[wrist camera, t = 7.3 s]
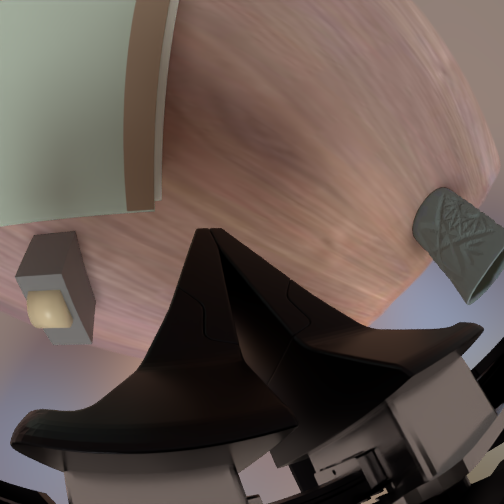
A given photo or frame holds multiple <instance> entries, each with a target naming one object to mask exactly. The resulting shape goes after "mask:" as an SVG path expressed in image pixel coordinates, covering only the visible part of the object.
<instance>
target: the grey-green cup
mask: <svg viewBox="0 0 504 504" xmlns="http://www.w3.org/2000/svg"><path fill="white" fill-rule="evenodd" d="M413 235H414V237H415V239H416V240H417V241H418V243H419V244H420V245H421V246H422V247H423V248H424V249H425V250H426V251H428V252H429V255H430V256H431V257H432V258H433V260H434V261H435V262H436V263H437V264H438V266H439V267H440V269H441V270H442V271H443V272H444V273H445V274H446V276H447V277H448V278H449V279H450V280H451V282H452V283H453V284H454V286H455V288H456V289H457V291H458V292H459V293H460V295H461V296H462V298H463V300H464V301H465V302H466V304H468V305H470V304H472V303H474V302H475V301H476V300H478V299H479V298H480V297H481V296H482V295H483V294H484V293H485V292H486V291H487V290H488V288H489V287H490V286H491V285H492V284H493V283H494V281H495V280H496V279H497V278H498V276H499V275H500V273H501V272H502V270H503V269H504V228H503V227H502V226H500V225H498V224H496V223H495V221H494V220H492V219H491V218H490V217H489V216H487V215H485V213H483V212H480V210H479V209H477V208H475V207H474V206H473V205H472V204H470V203H469V202H467V201H466V200H465V199H463V198H461V197H460V196H458V195H457V194H456V193H454V192H453V191H451V190H450V189H448V188H439V189H437V190H435V191H434V192H432V193H431V194H430V195H429V196H428V197H427V198H426V199H425V201H424V202H423V203H422V205H421V206H420V208H419V210H418V212H417V214H416V217H415V219H414V223H413Z"/></svg>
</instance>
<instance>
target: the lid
mask: <svg viewBox="0 0 504 504" xmlns="http://www.w3.org/2000/svg"><path fill="white" fill-rule="evenodd" d="M169 5H170V0H2V1H0V227H1V226H8V225H15V224H23V223H30V222H39V221H47V220H56V219H65V218H75V217H86V216H97V215H109V214H122V213H136V212H152V211H155V196H154V152H155V124H156V106H157V93H158V82H159V72H160V63H161V55H162V47H163V40H164V33H165V27H166V21H167V16H168V10H169Z"/></svg>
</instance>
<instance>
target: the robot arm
mask: <svg viewBox="0 0 504 504" xmlns="http://www.w3.org/2000/svg"><path fill="white" fill-rule="evenodd" d="M483 331H484V328H483V327H482V326H480V325H478V324H475V323H466V322H459V323H457V324H455V325H453V326H451V327H447V328H440V329H408V330H391V329H386V330H385V329H382V330H381V329H374V328H370V327H366V326H364V325H362V324H360V323H358V322H356V321H355V320H353V319H351V318H350V317H348V316H346V315H345V314H343V313H341V312H340V311H338V310H336V309H335V308H333V307H332V306H330V305H328V304H327V303H325V302H323V301H322V300H320V299H319V298H317V297H316V296H314V295H313V294H311V293H310V292H308V291H307V290H305V289H304V288H303V287H301V286H300V285H298V284H297V283H296V282H294V281H293V280H290V278H289V277H287V276H286V275H285V274H283V273H282V272H281V271H279V270H278V269H276V268H275V267H274V266H272V265H271V264H270V263H268V262H267V261H266V260H264V259H263V258H261V257H260V256H259V255H257V254H256V253H255V252H253V251H252V250H251V249H249V248H248V247H247V246H245V245H244V244H242V243H241V242H240V241H238V240H237V239H236V238H234V237H233V236H232V235H230V234H229V233H227V232H226V231H225V230H223V229H222V228H211V229H208V228H198V229H196V231H195V234H194V237H193V240H192V243H191V245H190V248H189V251H188V254H187V257H186V260H185V263H184V266H183V269H182V272H181V275H180V278H179V281H178V284H177V287H176V290H175V293H174V296H173V299H172V301H171V304H170V307H169V310H168V312H167V314H166V316H165V318H164V320H163V322H162V324H161V326H160V328H159V330H158V332H157V334H156V336H155V338H154V340H153V342H152V344H151V346H150V348H149V350H148V352H147V354H146V356H145V358H144V360H143V361H142V363H141V365H140V366H139V367H138V369H137V370H136V371H135V372H134V373H133V374H132V375H131V376H129V377H128V378H127V379H126V380H125V381H123V382H122V383H121V384H119V385H118V386H117V387H116V388H114V389H113V390H112V391H111V392H109V393H108V394H107V395H106V396H105V397H103V398H102V399H101V400H100V401H98V402H97V403H95V404H94V405H92V406H90V407H87V408H85V409H81V410H76V411H58V410H48V409H39V410H34V411H31V412H29V413H28V414H27V415H26V416H25V417H24V418H23V419H22V420H21V422H20V423H19V424H18V426H17V427H16V428H15V430H14V432H13V435H12V438H11V442H10V444H11V446H12V448H13V449H15V450H16V451H18V452H19V453H21V454H23V455H25V456H27V457H29V458H32V459H34V460H36V461H38V462H40V463H42V464H44V465H47V466H49V467H51V468H54V469H56V470H59V471H61V472H64V475H65V483H66V490H67V495H68V500H69V504H263V503H262V500H261V498H260V496H259V495H258V494H257V495H251V496H246V494H245V492H244V489H243V486H242V483H241V481H240V477H239V475H238V473H239V472H241V471H242V470H244V469H245V468H246V467H248V466H249V465H251V464H252V463H253V462H255V461H256V460H257V459H259V458H260V457H262V456H263V455H264V454H266V453H267V452H268V451H270V453H271V455H272V458H273V460H274V462H275V465H276V466H277V468H281V467H284V466H287V465H289V468H290V470H291V472H292V474H293V476H294V478H295V480H296V482H297V484H298V486H299V489H300V491H301V493H299V494H296V495H293V496H290V497H288V498H284V499H282V500H278V501H275V502H272V503H268V504H361V503H362V502H365V501H368V500H370V499H371V496H373V495H376V494H379V493H381V492H383V491H384V490H383V489H384V488H386V490H387V492H388V493H387V494H384V495H382V496H379V497H378V498H376V501H377V502H375V503H372V504H504V460H502V461H501V462H500V463H499V464H498V466H497V468H496V469H495V470H494V472H493V473H492V474H491V476H489V477H487V478H484V479H482V480H480V481H478V482H475V483H473V484H470V482H469V479H468V478H467V474H468V473H469V472H470V471H471V470H472V469H473V468H474V467H475V466H476V465H477V464H478V463H479V462H480V460H481V459H482V458H483V456H484V455H485V454H486V453H487V452H488V451H490V450H492V449H493V448H495V447H497V446H498V445H500V444H502V443H503V442H504V337H503V338H502V339H501V341H500V342H499V343H498V344H497V345H496V346H495V347H494V348H493V349H492V350H491V352H490V353H488V354H487V356H485V357H484V358H483V359H482V360H481V361H480V362H479V363H478V364H477V365H476V366H475V367H474V368H473V369H472V370H470V369H469V367H468V366H467V364H466V363H465V361H464V360H463V358H462V357H461V356H462V355H463V354H464V353H465V352H466V351H467V350H468V349H469V348H470V347H471V345H472V344H473V343H474V342H475V341H476V340H477V339H478V337H479V336H480V335H481V334H482V332H483ZM0 504H56V503H55V502H54V501H53V500H52V499H51V498H50V497H49V496H48V495H47V494H46V493H42V492H38V491H34V490H30V489H27V488H23V487H20V486H16V485H13V484H9V483H7V482H4V481H1V480H0Z"/></svg>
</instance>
